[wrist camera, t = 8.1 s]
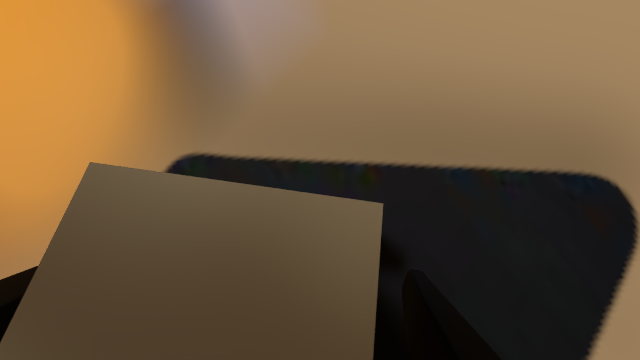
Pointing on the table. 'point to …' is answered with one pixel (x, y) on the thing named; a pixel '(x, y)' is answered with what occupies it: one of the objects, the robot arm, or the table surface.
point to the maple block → (201, 274)
